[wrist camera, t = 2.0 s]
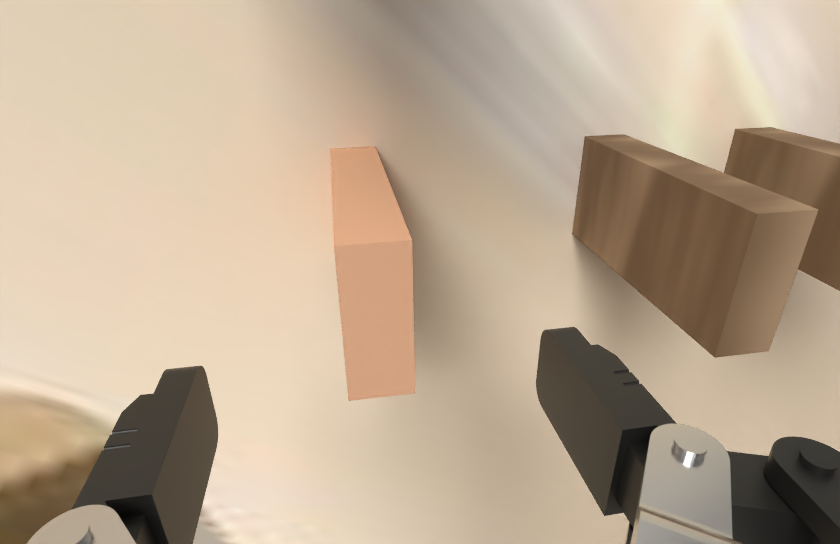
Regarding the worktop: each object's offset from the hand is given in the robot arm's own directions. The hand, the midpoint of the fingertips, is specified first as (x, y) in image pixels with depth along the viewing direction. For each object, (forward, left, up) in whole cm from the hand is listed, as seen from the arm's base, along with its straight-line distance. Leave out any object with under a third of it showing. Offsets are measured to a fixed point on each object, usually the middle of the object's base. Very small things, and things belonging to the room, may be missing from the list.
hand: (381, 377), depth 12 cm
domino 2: (-9, +8, -13) cm, 18 cm away
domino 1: (0, 0, -13) cm, 13 cm away
